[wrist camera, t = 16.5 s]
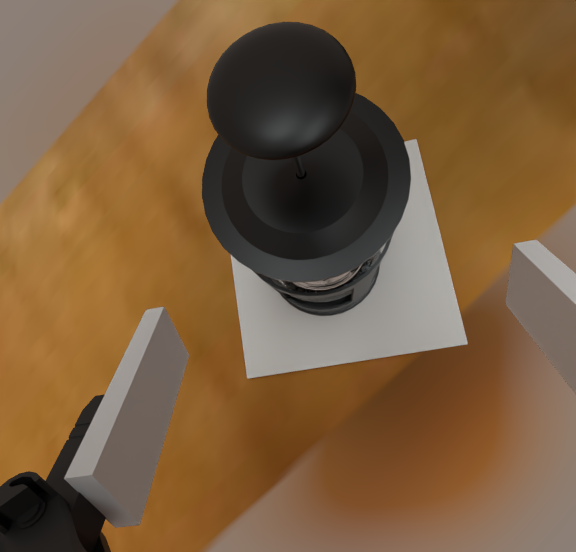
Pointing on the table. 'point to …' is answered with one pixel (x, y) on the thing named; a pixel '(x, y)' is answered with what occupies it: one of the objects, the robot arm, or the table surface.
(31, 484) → the robot arm
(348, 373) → the table surface
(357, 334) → the white square mat
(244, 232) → the french press
